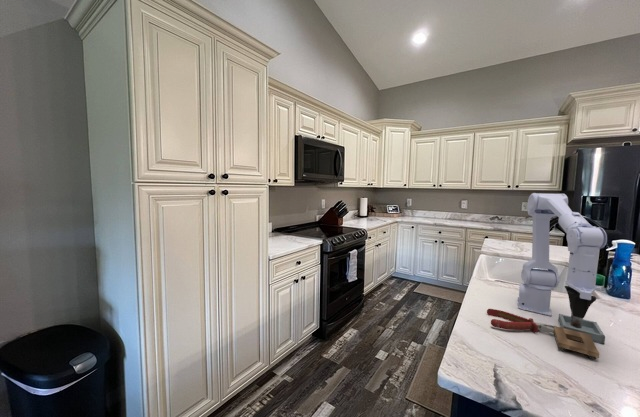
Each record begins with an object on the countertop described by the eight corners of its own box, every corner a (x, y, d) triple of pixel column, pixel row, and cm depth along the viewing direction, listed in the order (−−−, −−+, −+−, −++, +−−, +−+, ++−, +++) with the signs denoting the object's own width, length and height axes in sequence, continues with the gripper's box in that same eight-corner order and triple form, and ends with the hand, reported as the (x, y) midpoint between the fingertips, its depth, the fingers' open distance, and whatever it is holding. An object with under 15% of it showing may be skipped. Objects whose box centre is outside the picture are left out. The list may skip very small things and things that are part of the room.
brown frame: (557, 350, 73) (558, 342, 73) (552, 333, 82) (553, 325, 81) (598, 362, 68) (599, 353, 68) (588, 342, 77) (589, 334, 77)
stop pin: (570, 326, 74) (573, 299, 73) (568, 322, 76) (571, 296, 75) (583, 329, 73) (586, 302, 72) (581, 325, 75) (584, 298, 74)
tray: (562, 333, 81) (563, 326, 81) (558, 320, 89) (559, 313, 89) (604, 344, 76) (605, 336, 76) (595, 329, 84) (596, 322, 84)
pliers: (572, 344, 75) (573, 336, 75) (490, 327, 84) (491, 319, 84) (557, 327, 85) (558, 319, 85) (486, 313, 94) (486, 306, 94)
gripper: (610, 279, 65) (604, 330, 66) (595, 265, 76) (590, 309, 77) (572, 273, 69) (566, 321, 70) (563, 261, 80) (559, 302, 82)
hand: (577, 314), depth 74 cm, fingers closed on stop pin, 2 cm apart
